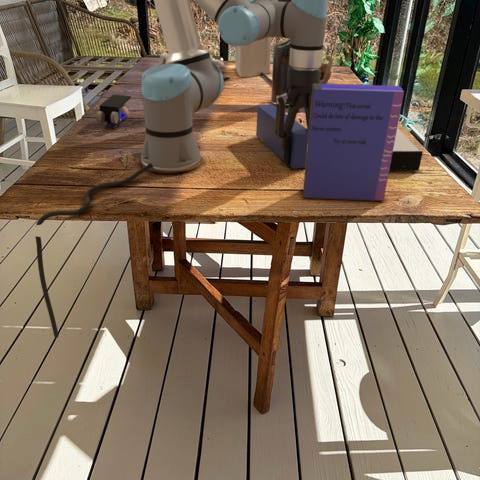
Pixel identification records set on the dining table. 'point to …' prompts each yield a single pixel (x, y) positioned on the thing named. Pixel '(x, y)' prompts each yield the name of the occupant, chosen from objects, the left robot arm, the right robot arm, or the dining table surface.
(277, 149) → the bar
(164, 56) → the toy
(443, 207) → the dining table surface
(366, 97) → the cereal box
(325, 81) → the anatomical model
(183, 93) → the left robot arm
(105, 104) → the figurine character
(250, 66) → the tall white block
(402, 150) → the disc drive
